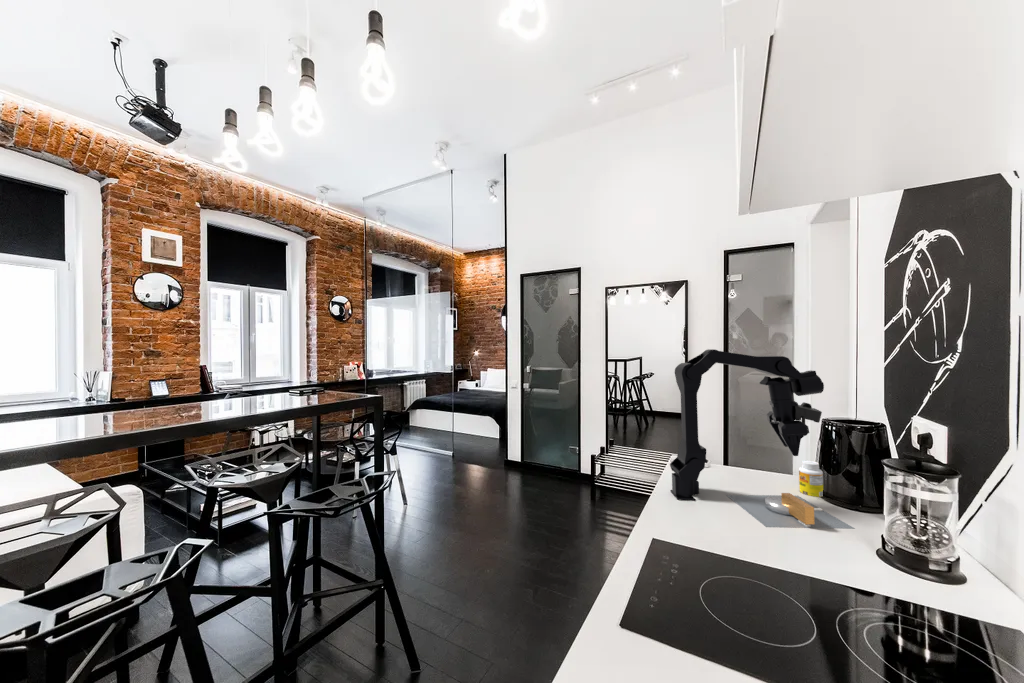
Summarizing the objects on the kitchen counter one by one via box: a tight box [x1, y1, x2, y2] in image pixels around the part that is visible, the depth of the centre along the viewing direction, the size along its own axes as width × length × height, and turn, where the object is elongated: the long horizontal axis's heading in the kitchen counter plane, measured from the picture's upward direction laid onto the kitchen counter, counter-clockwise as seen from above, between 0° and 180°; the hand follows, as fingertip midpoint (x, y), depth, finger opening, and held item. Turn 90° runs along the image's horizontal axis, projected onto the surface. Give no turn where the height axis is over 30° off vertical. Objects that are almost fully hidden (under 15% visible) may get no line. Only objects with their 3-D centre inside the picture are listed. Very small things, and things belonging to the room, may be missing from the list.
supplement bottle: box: [798, 459, 824, 498], centre depth 111 cm, size 6×6×10 cm
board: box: [726, 494, 856, 529], centre depth 101 cm, size 20×20×2 cm
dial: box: [765, 492, 814, 524], centre depth 98 cm, size 14×8×5 cm, turn 176°
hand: (791, 451), depth 111 cm, fingers open, 9 cm apart
